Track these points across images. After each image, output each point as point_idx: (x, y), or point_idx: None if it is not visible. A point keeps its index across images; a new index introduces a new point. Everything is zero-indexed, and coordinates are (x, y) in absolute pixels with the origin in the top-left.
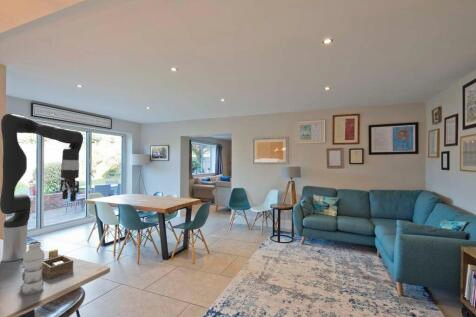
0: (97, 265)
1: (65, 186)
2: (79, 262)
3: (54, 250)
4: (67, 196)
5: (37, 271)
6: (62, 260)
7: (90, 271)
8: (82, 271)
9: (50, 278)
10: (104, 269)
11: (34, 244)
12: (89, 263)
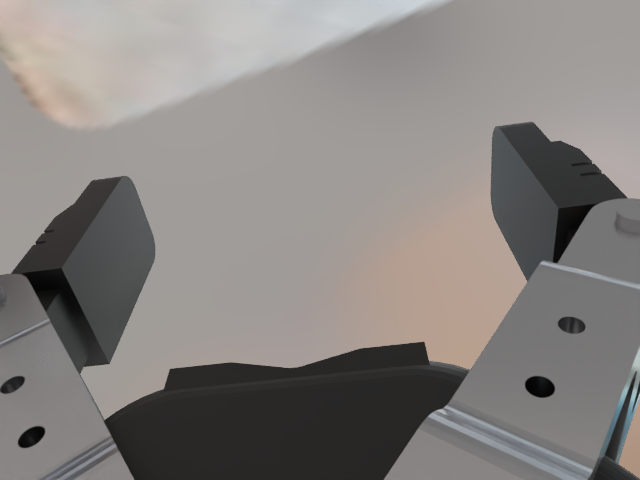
0: (136, 107)
1: (448, 392)
2: (255, 44)
3: None
4: (504, 236)
5: None
6: None
7: (66, 48)
8: (93, 13)
9: None
10: (52, 115)
11: None
12: (197, 84)
